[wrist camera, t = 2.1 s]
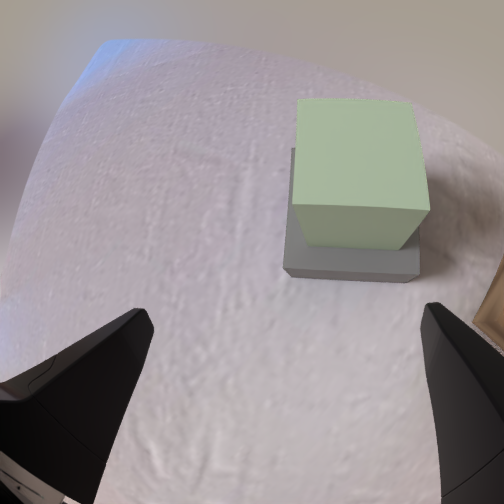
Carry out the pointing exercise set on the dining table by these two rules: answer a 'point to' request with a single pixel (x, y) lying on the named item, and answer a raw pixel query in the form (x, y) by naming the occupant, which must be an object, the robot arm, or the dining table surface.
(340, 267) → the charcoal plinth
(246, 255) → the dining table surface
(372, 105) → the sage green block
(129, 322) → the robot arm
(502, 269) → the walnut block
